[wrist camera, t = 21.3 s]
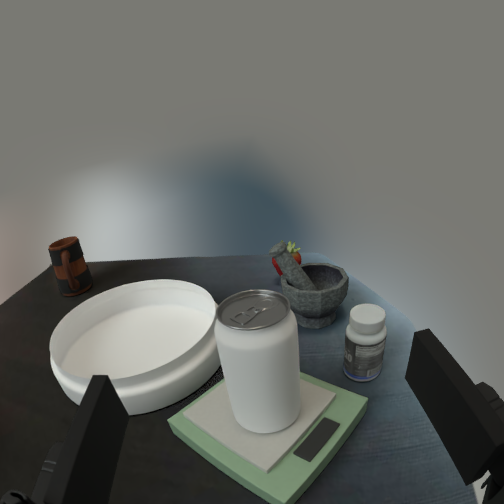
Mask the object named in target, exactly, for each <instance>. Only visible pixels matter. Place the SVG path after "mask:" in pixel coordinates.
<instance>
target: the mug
mask: <svg viewBox="0 0 504 504" xmlns="http://www.w3.org/2000/svg"><path fill="white" fill-rule="evenodd" d="M48 250H49V253H50V257H51V260H52V265H53V266H54V269H55V273H56V279H57V283H58V286H59V289H60V292H61V293H63V295H65V296H75V295H78V294H81V293H83V292H85V291H87V290H88V289H89V288H90V287H91V285H92V277H91V274H90V271H89V269H88V266H87V265H86V263H85V260H84V257H83V252H82V249H81V246H80V243H79V239H78V238H77V237H67V238H63V239H61V240H58V241H56V242H54V243H52V244H51V245H50V246H49V249H48Z"/></svg>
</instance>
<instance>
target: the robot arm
mask: <svg viewBox="0 0 504 504" xmlns="http://www.w3.org/2000/svg"><path fill="white" fill-rule="evenodd" d="M405 379H406V381H407V382H408V384H409V386H410V387H411V389H412V391H413V392H414V394H415V396H416V397H417V399H418V401H419V402H420V404H421V406H422V407H423V409H424V411H425V412H426V414H427V416H428V418H429V419H430V421H431V423H432V424H433V426H434V428H435V430H436V431H437V433H438V435H439V437H440V438H441V440H442V442H443V444H444V446H445V447H446V449H447V451H448V453H449V455H450V457H451V458H452V460H453V462H454V464H455V466H456V468H457V470H458V471H459V473H460V475H461V477H462V479H463V481H464V483H465V485H466V486H467V485H469V484H471V483H473V482H474V481H476V480H478V479H480V478H481V477H483V475H484V474H485V473H486V472H487V470H489V472H490V474H491V475H490V476H489V477H488V478H487V479H486V481H485V482H484V483H483V484H482V486H481V489H483V488H484V487H485V486H486V485H487V487H486V491H485V495H484V499H483V502H482V504H504V402H503V400H502V399H500V398H499V395H498V394H497V393H496V391H495V390H494V389H493V388H492V387H490V386H489V385H487V384H486V383H484V382H481V383H479V384H477V385H475V384H474V383H473V382H472V380H471V379H470V378H469V377H468V375H467V374H466V373H465V372H464V370H463V369H462V368H461V367H460V365H459V364H458V363H457V362H456V360H455V359H454V358H453V357H452V355H451V354H450V353H449V352H448V351H447V349H446V348H445V347H444V346H443V345H442V343H441V342H440V341H439V340H438V339H437V338H436V336H435V335H434V334H433V333H432V332H431V330H430V329H425V330H421V331H418V332H414V337H413V342H412V347H411V352H410V357H409V362H408V366H407V371H406V375H405ZM129 417H130V416H129V414H128V412H127V410H126V409H125V407H124V405H123V403H122V401H121V400H120V398H119V396H118V394H117V392H116V390H115V388H114V386H113V384H112V382H111V380H110V378H109V376H108V375H93V376H92V378H91V380H90V382H89V385H88V387H87V389H86V391H85V394H84V396H83V398H82V400H81V403H80V405H79V407H78V410H77V412H76V414H75V417H74V419H73V421H72V424H71V426H70V429H69V431H68V434H67V436H66V438H65V441H64V443H63V442H56V443H55V444H54V445H53V446H52V447H51V448H50V450H49V451H48V454H47V456H46V459H45V462H44V464H43V466H42V470H41V471H40V474H39V477H38V479H37V482H36V485H35V488H34V490H33V493H32V496H31V498H29V497H28V496H26V495H25V494H24V493H23V492H21V491H20V490H16V489H14V490H9V491H8V492H6V493H5V494H4V495H3V497H2V499H1V502H0V504H108V501H109V497H110V492H111V488H112V484H113V479H114V475H115V471H116V467H117V463H118V459H119V455H120V451H121V447H122V443H123V439H124V435H125V432H126V428H127V424H128V421H129Z"/></svg>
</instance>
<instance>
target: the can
mask: <svg viewBox="0 0 504 504" xmlns="http://www.w3.org/2000/svg"><path fill="white" fill-rule="evenodd" d="M216 317H217V320H216V324H215V328H214V332H215V339H216V343H217V348H218V353H219V357H220V361H221V366H222V370H223V374H224V378H225V383H226V387H227V391H228V395H229V399H230V402H231V406H232V410H233V414H234V417H235V419H236V421H237V422H238V423H239V424H240V425H241V426H242V427H243V428H245V429H247V430H249V431H252V432H256V433H273V432H277V431H280V430H282V429H284V428H286V427H288V426H289V425H291V424H292V423H293V422H294V421H295V420H296V418H297V417H298V415H299V412H300V404H301V401H300V368H299V347H298V330H297V321H296V317H295V315H294V313H293V312H292V310H291V309H290V302H289V300H288V298H287V297H286V296H284V295H283V294H281V293H278V292H275V291H271V290H248V291H243V292H240V293H237V294H234V295H232V296H230V297H228V298H226V299H225V300H223V301H222V302H221V303H220V304H219V306H218V307H217V309H216Z"/></svg>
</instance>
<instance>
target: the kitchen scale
mask: <svg viewBox="0 0 504 504" xmlns="http://www.w3.org/2000/svg"><path fill="white" fill-rule="evenodd" d="M300 401H301V404H300V412H299V415H298V417H297V418H296V420H295V421H294V422H293V423H292V424H291V425H289V426H288V427H286V428H284V429H282V430H280V431H277V432H273V433H256V432H252V431H249V430H247V429H245V428H243V427H242V426H241V425H240V424H239V423H238V422H237V421H236V419H235V417H234V414H233V410H232V406H231V402H230V399H229V395H228V391H227V387H226V383H225V378H224V379H223V380H221V381H220V382H219V383H217V384H216V385H215V386H213V387H212V388H211V389H209V390H208V391H207V392H205V393H204V394H203V395H201V396H200V397H199V398H197V399H196V400H195V401H193V402H192V403H191V404H189V405H188V406H186V407H185V408H184V409H182V410H181V411H179V412H178V413H177V414H175V415H174V416H172V417H171V418H170V419H168V422H169V424H170V427H171V429H172V431H173V433H174V434H175V435H176V436H178V437H179V438H180V439H181V440H182V441H184V442H185V443H186V444H187V445H189V446H190V447H191V448H192V449H194V450H195V451H196V452H197V453H199V454H200V455H201V456H202V457H204V458H205V459H206V460H208V461H209V462H210V463H212V464H213V465H214V466H216V467H217V468H218V469H220V470H221V471H223V472H224V473H225V474H227V475H228V476H230V477H231V478H232V479H234V480H235V481H237V482H238V483H240V484H241V485H243V486H244V487H246V488H247V489H249V490H250V491H252V492H253V493H255V494H256V495H258V496H260V497H261V498H263V499H264V500H266V501H268V502H269V503H271V504H294V503H295V502H296V501H297V500H298V499H299V498H300V496H301V495H302V494H303V493H304V492H305V491H306V490H307V489H308V487H309V486H310V485H311V484H312V483H313V482H314V480H315V479H316V478H317V477H318V476H319V474H320V473H321V472H322V471H323V469H324V468H325V467H326V466H327V465H328V463H329V462H330V461H331V459H332V458H333V457H334V456H335V454H336V453H337V452H338V450H339V449H340V448H341V446H342V445H343V444H344V442H345V441H346V440H347V438H348V437H349V436H350V434H351V433H352V431H353V430H354V429H355V427H356V426H357V424H358V423H359V421H360V420H361V419H362V417H363V416H364V414H365V413H366V408H367V403H368V398H366V397H364V396H361V395H358V394H355V393H353V392H350V391H347V390H345V389H342V388H339V387H337V386H334V385H332V384H329V383H327V382H324V381H322V380H319V379H317V378H314V377H312V376H309V375H307V374H304V373H302V372H300Z"/></svg>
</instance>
